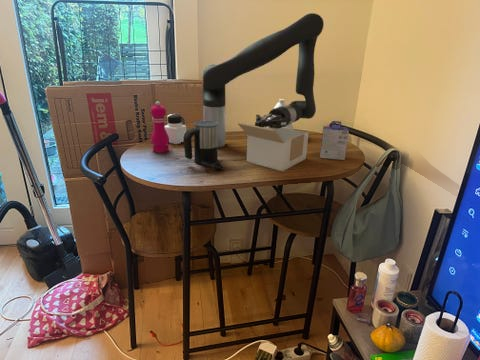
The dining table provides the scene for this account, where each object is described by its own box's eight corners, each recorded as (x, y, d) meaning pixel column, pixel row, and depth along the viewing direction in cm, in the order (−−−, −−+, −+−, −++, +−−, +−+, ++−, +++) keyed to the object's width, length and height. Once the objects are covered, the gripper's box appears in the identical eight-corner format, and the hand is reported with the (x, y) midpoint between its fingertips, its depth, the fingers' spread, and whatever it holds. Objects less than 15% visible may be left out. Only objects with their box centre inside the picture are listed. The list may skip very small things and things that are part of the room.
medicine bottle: (186, 141, 158) (186, 114, 153) (176, 144, 153) (174, 117, 148) (175, 138, 162) (173, 112, 157) (164, 141, 156) (162, 115, 151)
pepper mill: (154, 153, 141) (150, 103, 133) (149, 148, 147) (146, 100, 139) (171, 151, 144) (169, 102, 136) (166, 146, 150) (164, 99, 142)
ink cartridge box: (344, 156, 144) (349, 121, 139) (345, 160, 139) (350, 124, 134) (319, 154, 146) (324, 119, 140) (319, 158, 141) (324, 122, 135)
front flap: (283, 142, 122) (283, 143, 122) (248, 134, 130) (248, 135, 130) (274, 129, 115) (273, 131, 115) (237, 122, 123) (237, 123, 123)
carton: (283, 172, 126) (286, 142, 122) (245, 161, 135) (246, 133, 131) (307, 158, 140) (310, 132, 135) (271, 150, 149) (272, 124, 145)
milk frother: (204, 155, 141) (203, 118, 135) (237, 163, 133) (238, 125, 127) (180, 165, 130) (179, 126, 124) (215, 175, 122) (215, 133, 116)
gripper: (268, 104, 134) (241, 111, 121) (299, 109, 127) (274, 117, 114) (267, 123, 137) (240, 132, 124) (297, 129, 130) (273, 139, 117)
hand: (257, 125), depth 119 cm, fingers closed
